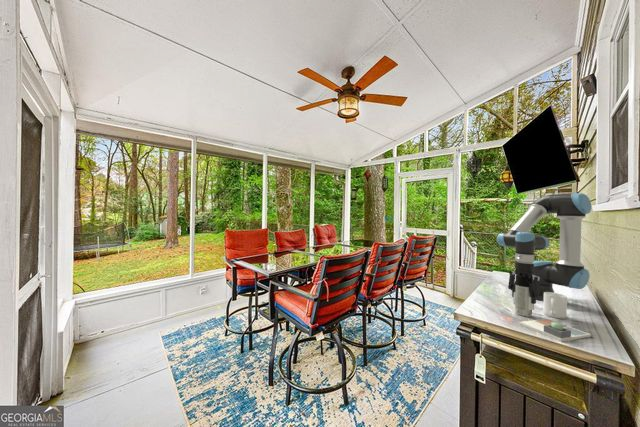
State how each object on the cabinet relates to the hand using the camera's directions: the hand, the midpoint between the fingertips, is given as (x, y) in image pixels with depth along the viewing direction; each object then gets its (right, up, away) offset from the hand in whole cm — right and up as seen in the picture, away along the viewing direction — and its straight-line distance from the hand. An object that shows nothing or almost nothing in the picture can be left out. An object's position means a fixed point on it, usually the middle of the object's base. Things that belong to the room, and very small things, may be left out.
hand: (523, 306), depth 125 cm
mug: (+15, -5, -1) cm, 15 cm away
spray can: (0, -4, 0) cm, 4 cm away
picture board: (-1, -4, -17) cm, 17 cm away
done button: (-5, -1, -23) cm, 23 cm away
